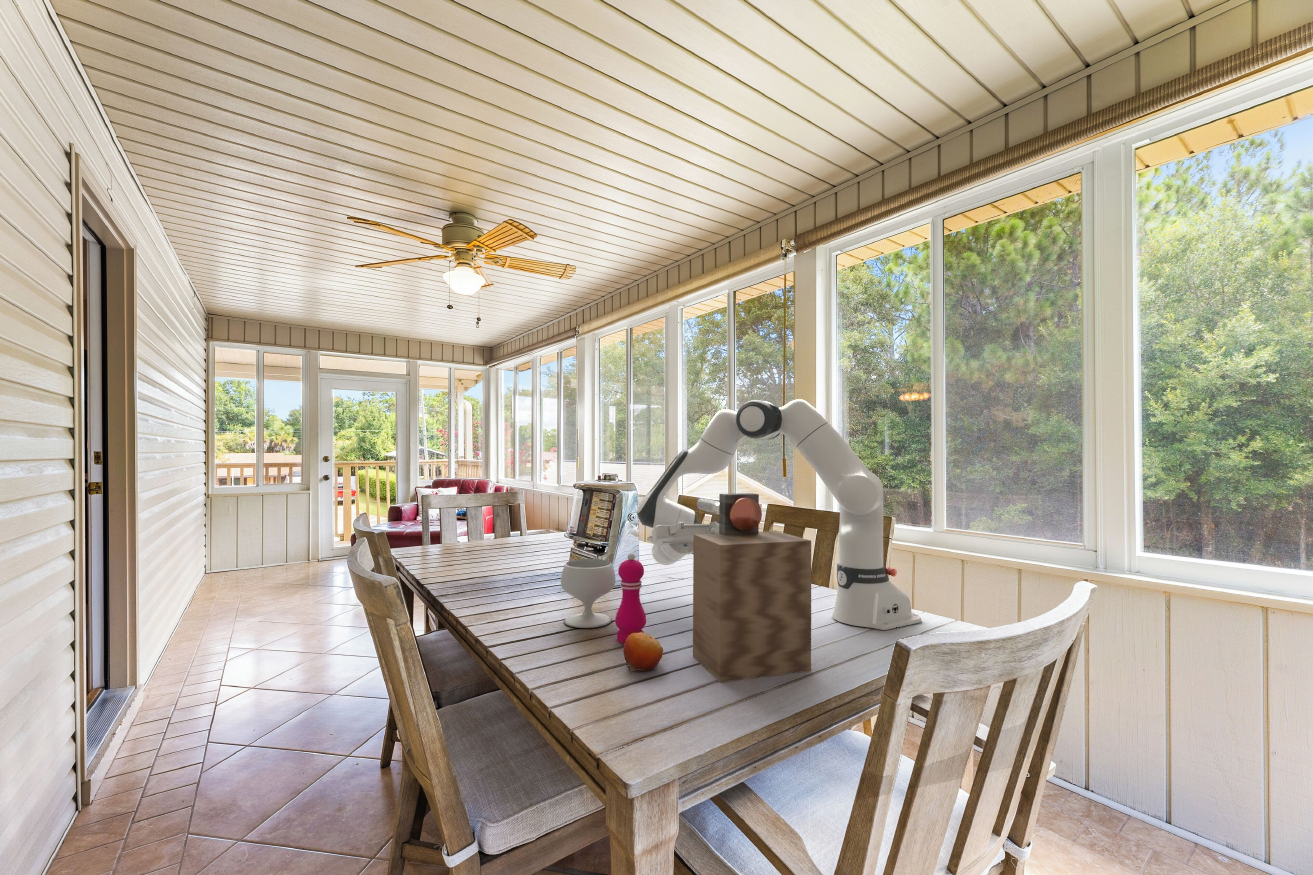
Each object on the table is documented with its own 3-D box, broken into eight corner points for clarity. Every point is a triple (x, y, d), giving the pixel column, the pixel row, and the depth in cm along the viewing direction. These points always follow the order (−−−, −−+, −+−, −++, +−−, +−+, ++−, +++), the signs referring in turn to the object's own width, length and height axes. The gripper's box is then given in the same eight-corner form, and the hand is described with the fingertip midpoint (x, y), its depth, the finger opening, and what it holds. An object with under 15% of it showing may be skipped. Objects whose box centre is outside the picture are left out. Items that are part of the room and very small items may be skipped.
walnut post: (775, 646, 125) (776, 492, 126) (811, 670, 112) (811, 497, 113) (692, 656, 119) (693, 494, 120) (719, 682, 106) (720, 499, 107)
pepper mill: (647, 634, 133) (648, 550, 133) (644, 645, 126) (644, 556, 126) (617, 633, 133) (618, 549, 134) (612, 644, 126) (613, 555, 127)
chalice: (569, 612, 151) (570, 556, 151) (620, 615, 149) (620, 558, 149) (552, 629, 137) (553, 567, 137) (608, 632, 135) (609, 569, 135)
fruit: (608, 657, 114) (628, 621, 116) (639, 672, 117) (657, 637, 118) (622, 672, 107) (642, 633, 109) (654, 688, 109) (674, 650, 111)
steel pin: (714, 517, 142) (714, 489, 143) (761, 530, 119) (761, 497, 119) (689, 518, 140) (689, 490, 141) (731, 532, 117) (732, 498, 117)
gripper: (643, 529, 155) (659, 513, 143) (710, 527, 162) (731, 512, 150) (646, 552, 152) (662, 537, 141) (714, 549, 159) (735, 535, 148)
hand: (698, 524), depth 145 cm, fingers open, 8 cm apart
